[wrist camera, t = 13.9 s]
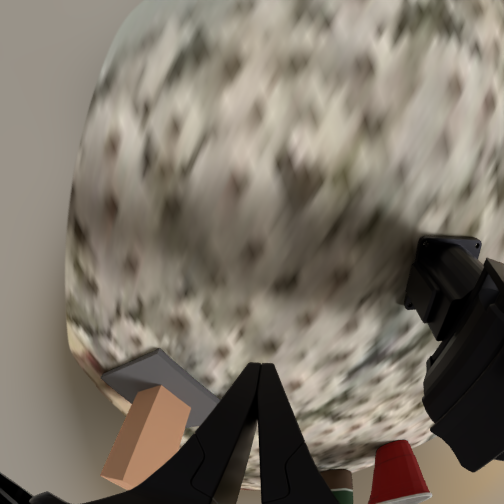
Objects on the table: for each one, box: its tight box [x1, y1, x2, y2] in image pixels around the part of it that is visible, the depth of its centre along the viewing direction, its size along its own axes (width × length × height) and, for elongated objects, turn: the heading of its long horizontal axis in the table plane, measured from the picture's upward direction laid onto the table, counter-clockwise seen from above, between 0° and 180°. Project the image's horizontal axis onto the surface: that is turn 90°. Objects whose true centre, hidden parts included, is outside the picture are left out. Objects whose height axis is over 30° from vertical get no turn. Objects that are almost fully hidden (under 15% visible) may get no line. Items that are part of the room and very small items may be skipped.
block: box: [100, 385, 191, 490], centre depth 24 cm, size 5×5×13 cm
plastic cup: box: [368, 440, 432, 504], centre depth 28 cm, size 11×11×12 cm
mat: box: [101, 349, 220, 428], centre depth 30 cm, size 13×13×1 cm
